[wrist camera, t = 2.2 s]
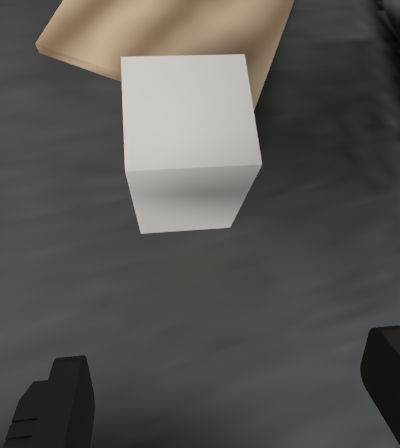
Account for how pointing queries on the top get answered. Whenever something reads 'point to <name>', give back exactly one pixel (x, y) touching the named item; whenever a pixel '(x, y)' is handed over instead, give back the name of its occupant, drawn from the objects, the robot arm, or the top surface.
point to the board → (165, 32)
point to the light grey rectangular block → (188, 139)
